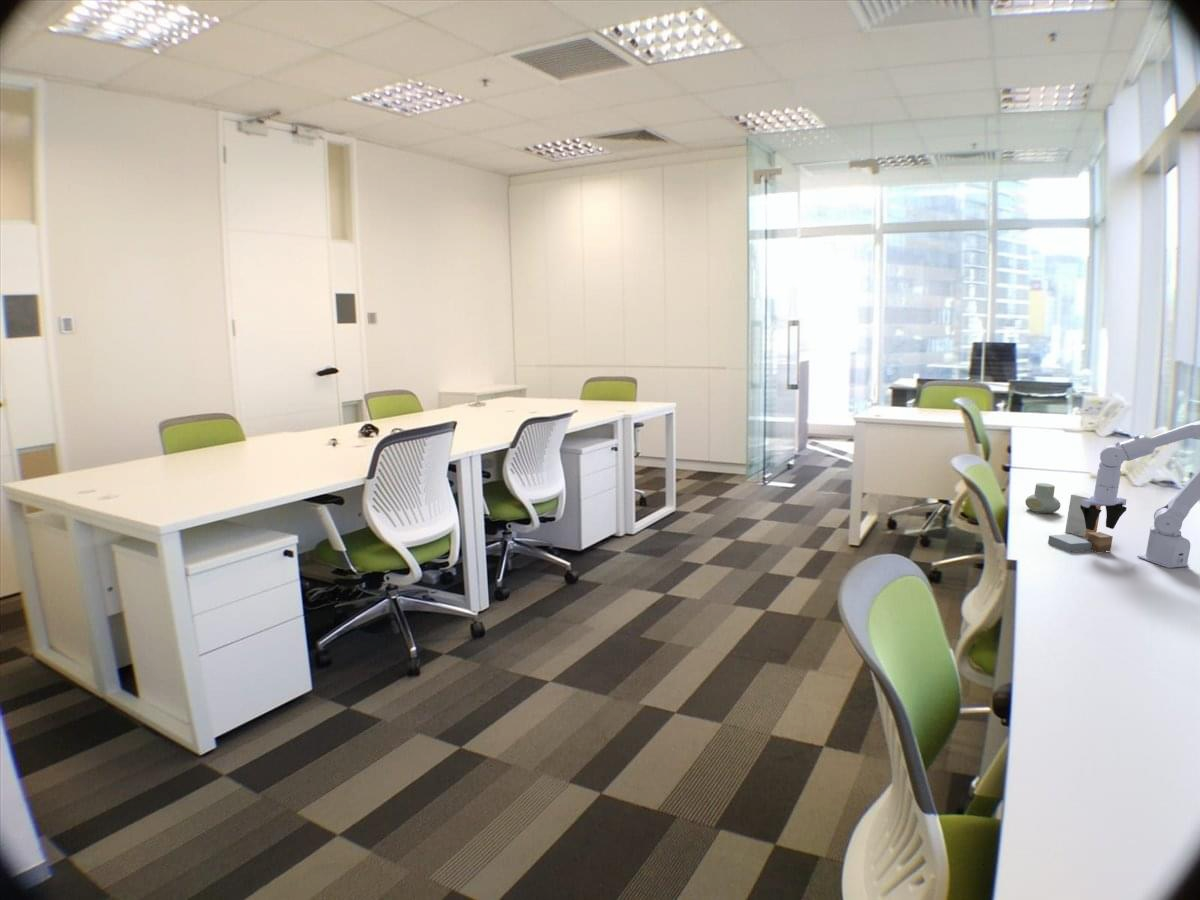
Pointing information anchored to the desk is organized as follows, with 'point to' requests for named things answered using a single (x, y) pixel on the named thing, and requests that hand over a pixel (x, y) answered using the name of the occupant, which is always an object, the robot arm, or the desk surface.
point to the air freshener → (1043, 499)
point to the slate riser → (1069, 542)
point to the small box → (1078, 515)
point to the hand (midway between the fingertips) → (1099, 528)
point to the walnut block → (1100, 541)
